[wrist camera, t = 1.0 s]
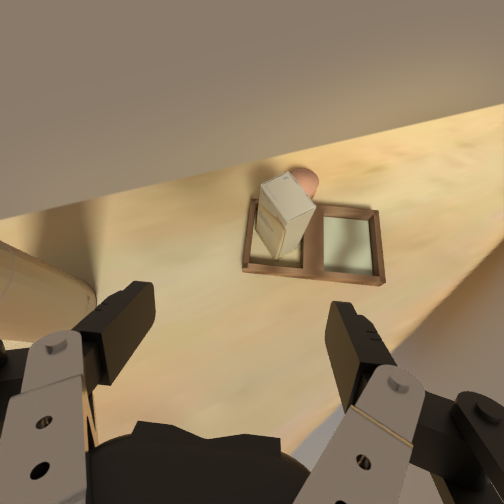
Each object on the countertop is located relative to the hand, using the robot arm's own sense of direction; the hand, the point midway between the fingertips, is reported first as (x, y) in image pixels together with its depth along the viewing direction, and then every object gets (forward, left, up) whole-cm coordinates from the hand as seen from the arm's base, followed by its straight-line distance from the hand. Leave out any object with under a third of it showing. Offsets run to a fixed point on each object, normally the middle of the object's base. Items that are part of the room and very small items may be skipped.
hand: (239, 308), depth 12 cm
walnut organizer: (+9, +16, -26) cm, 32 cm away
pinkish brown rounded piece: (+7, +26, -26) cm, 37 cm away
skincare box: (+3, +16, -26) cm, 31 cm away
